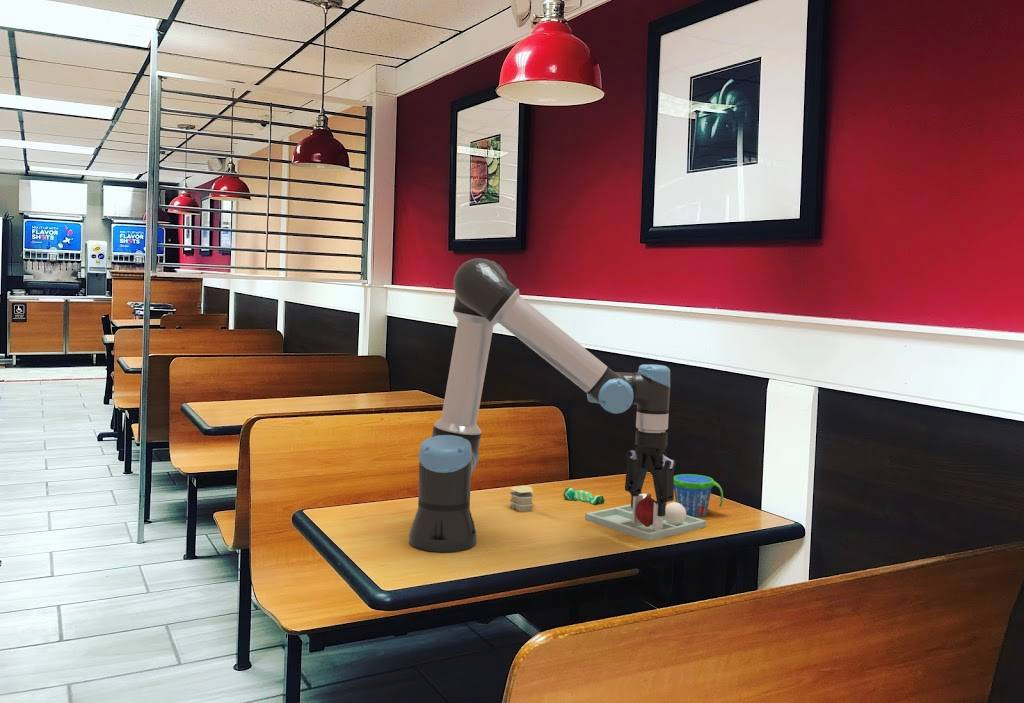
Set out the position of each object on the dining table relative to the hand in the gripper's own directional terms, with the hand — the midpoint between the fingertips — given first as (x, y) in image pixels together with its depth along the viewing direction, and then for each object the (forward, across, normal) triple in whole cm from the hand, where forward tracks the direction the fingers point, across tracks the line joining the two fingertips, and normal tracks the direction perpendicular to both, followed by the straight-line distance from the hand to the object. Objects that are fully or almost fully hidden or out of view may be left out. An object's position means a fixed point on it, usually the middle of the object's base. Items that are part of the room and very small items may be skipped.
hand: (647, 525), depth 201 cm
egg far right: (+1, 0, -10) cm, 10 cm away
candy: (+3, +30, -8) cm, 31 cm away
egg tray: (+2, +5, -5) cm, 7 cm away
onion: (0, 0, 0) cm, 0 cm away
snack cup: (+3, +5, -23) cm, 24 cm away
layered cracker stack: (+3, +35, +10) cm, 36 cm away
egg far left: (+1, +10, -10) cm, 14 cm away
